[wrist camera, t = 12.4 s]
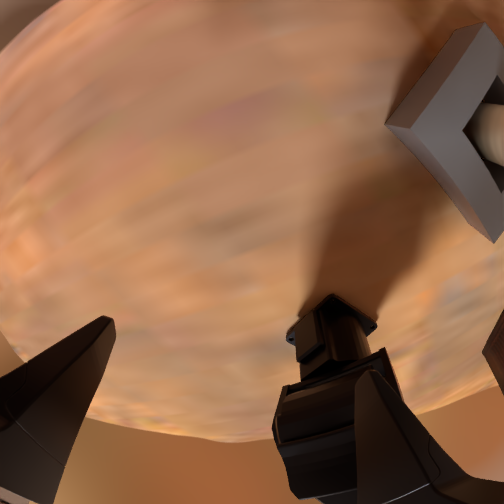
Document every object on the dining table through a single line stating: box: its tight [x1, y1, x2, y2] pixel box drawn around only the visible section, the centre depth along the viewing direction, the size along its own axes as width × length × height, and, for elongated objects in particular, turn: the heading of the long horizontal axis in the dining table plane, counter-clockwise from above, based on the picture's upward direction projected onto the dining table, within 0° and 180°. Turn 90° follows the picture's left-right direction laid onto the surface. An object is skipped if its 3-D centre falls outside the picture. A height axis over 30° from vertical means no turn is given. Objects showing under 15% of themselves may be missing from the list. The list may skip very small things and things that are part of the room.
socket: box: [384, 22, 504, 244], centre depth 13 cm, size 12×12×4 cm
